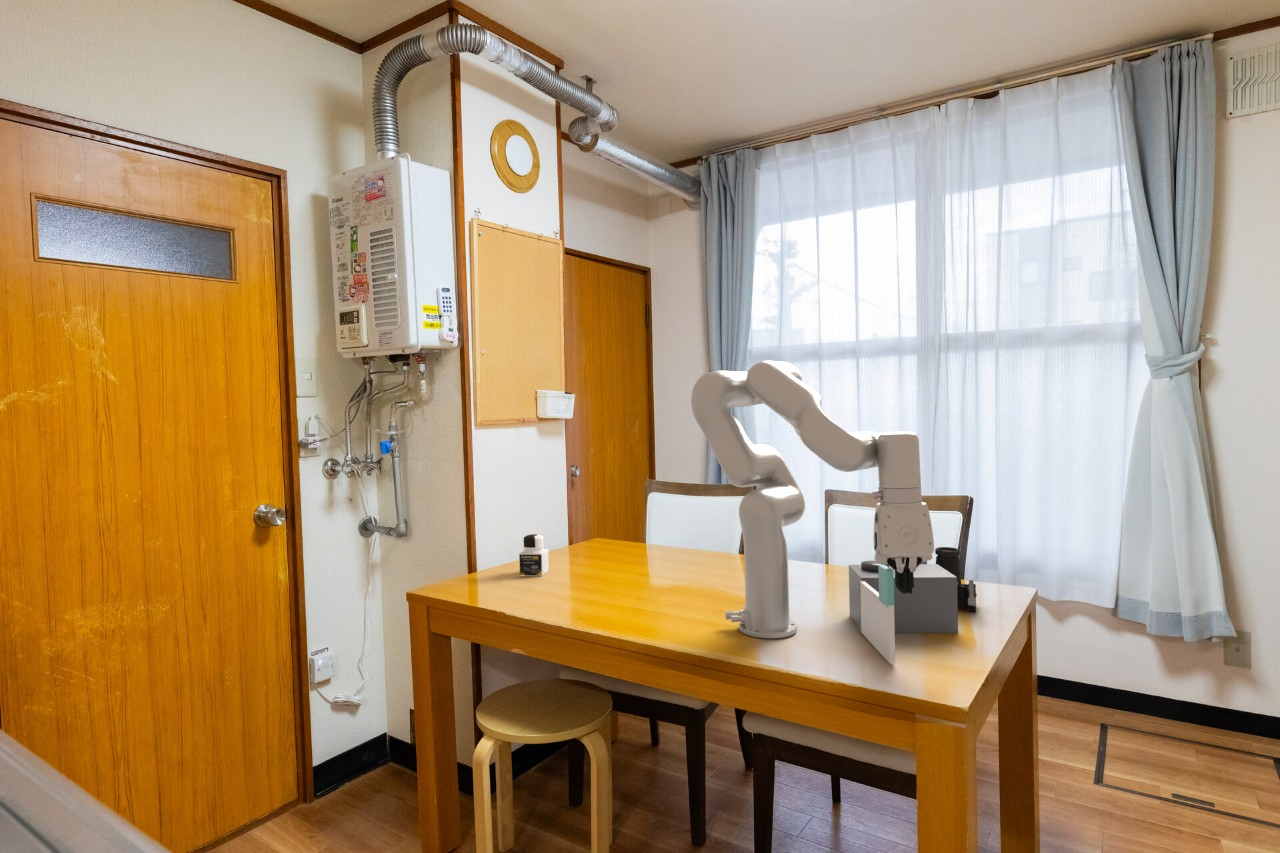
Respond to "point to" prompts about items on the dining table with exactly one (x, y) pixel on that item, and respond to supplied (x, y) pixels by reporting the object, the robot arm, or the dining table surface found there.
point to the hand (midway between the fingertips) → (904, 591)
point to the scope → (951, 563)
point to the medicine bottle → (534, 556)
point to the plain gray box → (913, 598)
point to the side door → (879, 613)
